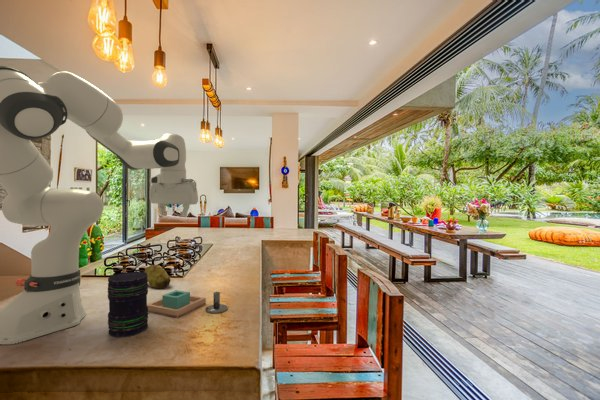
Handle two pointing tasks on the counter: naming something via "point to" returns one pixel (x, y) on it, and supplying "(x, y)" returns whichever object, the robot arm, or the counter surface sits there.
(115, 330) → the storage jar
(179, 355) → the counter surface
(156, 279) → the potato
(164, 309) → the tray
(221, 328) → the counter surface
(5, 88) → the robot arm
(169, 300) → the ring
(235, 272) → the counter surface
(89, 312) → the counter surface
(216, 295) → the grey peg stand
